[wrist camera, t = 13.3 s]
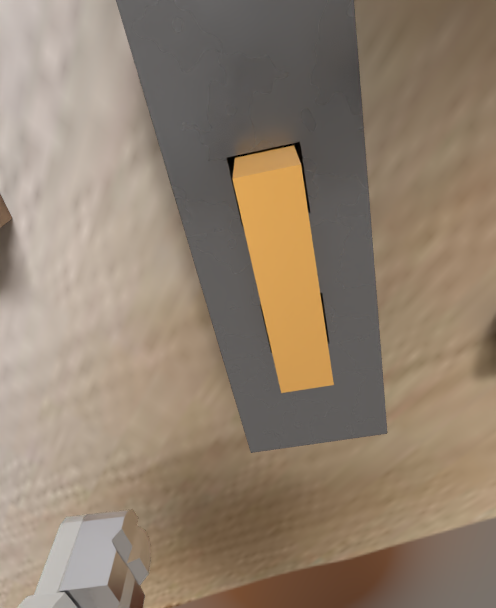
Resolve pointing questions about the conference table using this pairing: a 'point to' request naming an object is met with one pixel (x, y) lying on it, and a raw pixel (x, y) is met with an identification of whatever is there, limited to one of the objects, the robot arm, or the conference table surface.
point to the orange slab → (284, 264)
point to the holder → (4, 213)
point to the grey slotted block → (223, 201)
